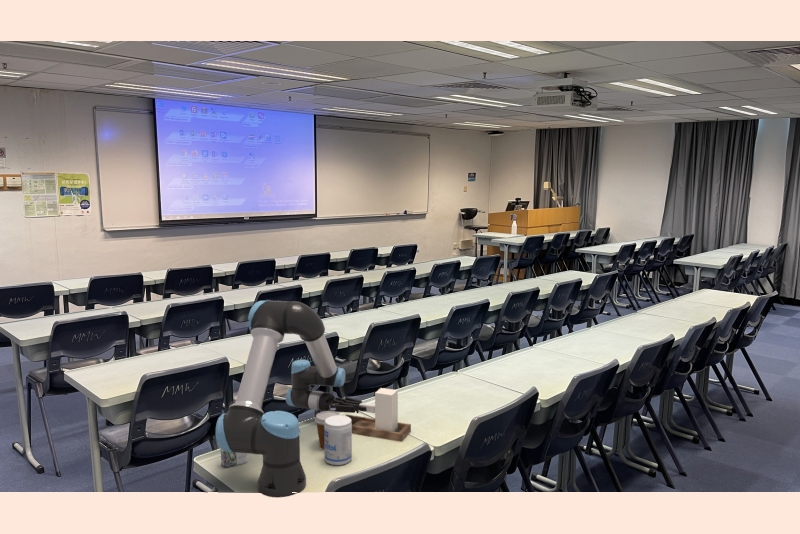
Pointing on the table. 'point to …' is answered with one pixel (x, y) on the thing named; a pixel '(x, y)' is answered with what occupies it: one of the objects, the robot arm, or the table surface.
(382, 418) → the block
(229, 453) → the ink box
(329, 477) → the table surface
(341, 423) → the supplement tub
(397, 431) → the trap track
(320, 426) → the disposable coffee cup
